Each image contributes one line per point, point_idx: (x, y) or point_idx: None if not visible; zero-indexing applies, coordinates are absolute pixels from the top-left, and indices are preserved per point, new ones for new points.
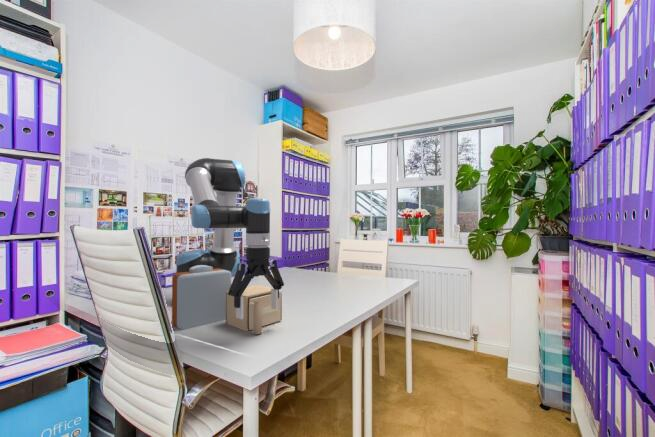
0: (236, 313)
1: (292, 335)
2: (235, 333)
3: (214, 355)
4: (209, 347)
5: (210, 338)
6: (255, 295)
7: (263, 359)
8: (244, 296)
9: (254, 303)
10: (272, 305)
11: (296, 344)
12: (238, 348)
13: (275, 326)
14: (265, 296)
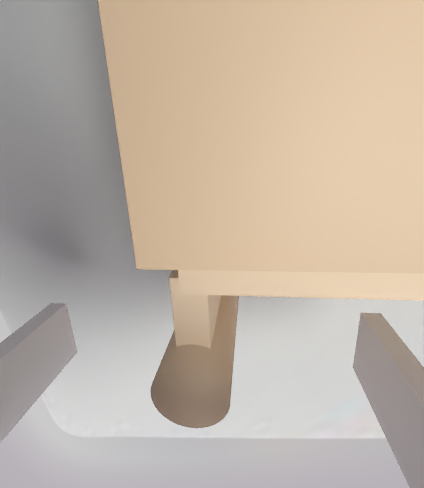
0: (32, 322)
1: (326, 364)
2: None
3: (17, 292)
4: (18, 218)
5: (46, 122)
6: (294, 263)
7: (123, 412)
8: (133, 220)
9: (154, 387)
10: (368, 347)
11: (266, 420)
12: (101, 305)
13: None
14: (420, 298)
